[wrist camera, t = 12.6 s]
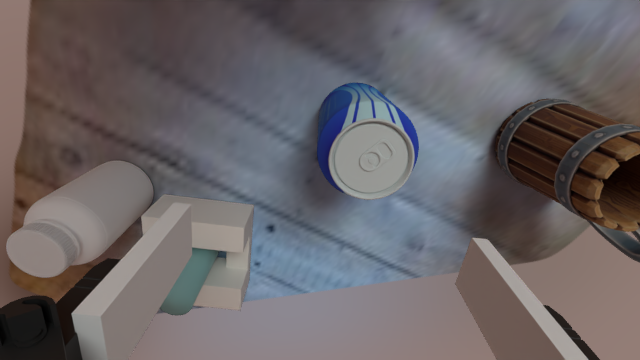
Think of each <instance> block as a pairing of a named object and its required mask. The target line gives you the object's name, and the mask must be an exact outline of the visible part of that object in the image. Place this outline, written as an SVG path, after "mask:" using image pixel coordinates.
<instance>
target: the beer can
mask: <svg viewBox="0 0 640 360" xmlns="http://www.w3.org/2000/svg"><path fill="white" fill-rule="evenodd" d="M418 150H419V143H418V137H417V133H416V130H415V128H414V126H413V124H412V122H411V121H410V119H409V118H408V117H407V116H406V115H405V114H404V113H403V112H402V111H401V110H400V109H399V108H398V107H396V106H395V105H394V104H393V103H392V102H391V101H389V100H388V99H387V98H386V97H385V96H384V95H383V94H381V93H380V92H379V91H378V90H377V89H375V88H374V87H372V86H370V85H367V84H363V83H349V84H345V85H342V86H340V87H338V88H336V89H335V90H333V91H332V92H331V93H330V94H329V95H328V96H327V97H326V99H325V100H324V102H323V104H322V106H321V108H320V112H319V122H318V142H317V157H318V162H319V166H320V168H321V171H322V173H323V175H324V176H325V178H326V179H327V180H328V182H329V183H330V184H331V185H332V186H334V187H335V188H336V189H338V190H339V191H341V192H343V193H345V194H347V195H350V196H353V197H356V198H359V199H366V200H373V199H379V198H383V197H386V196H388V195H390V194H392V193H394V192H395V191H397V190H398V189H399V188H400V187H402V186H403V184H404V183H405V182H406V181H407V179H408V178H409V176H410V174H411V172H412V170H413V168H414V166H415V164H416V161H417V157H418Z"/></svg>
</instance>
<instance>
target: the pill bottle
mask: <svg viewBox="0 0 640 360" xmlns="http://www.w3.org/2000/svg"><path fill="white" fill-rule="evenodd" d="M153 196H154V190H153V185H152V183H151V181H150V179H149V177H148V176H147V175H146V173H145V172H144V171H142V170H141V169H140V168H139V167H137V166H135V165H133V164H131V163H129V162H125V161H109V162H106V163H103V164H101V165H99V166H97V167H95V168H94V169H92V170H90V171H88V172H87V173H85V174H83V175H81V176H80V177H78V178H76V179H75V180H73V181H71V182H69V183H68V184H66V185H64V186H62V187H61V188H59V189H57V190H55V191H54V192H52V193H50V194H49V195H47V196H45V197H43V198H42V199H40V200H38V201H37V202H36V203H34V204H33V205H32V206H31V208H30V209H29V210H28V212H27V213H26V216H25V219H24V227H22V228H20V229H19V230H17V231H16V232H14V233H13V234H11V236H10V237H9V238H8V240H7V244H6V250H7V253H8V256H9V258H10V259H11V261H12V262H13V263H14V264H15V265H16V266H17V267H18V268H20V269H21V270H22V271H24V272H26V273H28V274H30V275H33V276H37V277H43V278H48V277H54V276H57V275H59V274H61V273H62V272H64V271H65V270H66V269H67V268H68V267H69V266H70V265H80V264H85V263H88V262H90V261H92V260H94V259H96V258H98V257H99V256H100V255H102V254H103V253H104V252H105V251H106V250H107V249H108V248H109V247H110V246H111V245H112V244H113V243H114V242H115V241H116V240H117V239H118V238H119V237H120V236H121V235H122V234H123V233H124V232H125V231H126V230H127V229H128V228H129V227H130V226H131V225H132V224H133V223H134V222H135V221H136V220H137V219H138V218H139V217H140V216H141V215H142V214H143V213H144V212H145V211H146V210H147V209H148V207H149V206H150V205H151V203H152V200H153Z"/></svg>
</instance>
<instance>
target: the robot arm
mask: <svg viewBox="0 0 640 360" xmlns="http://www.w3.org/2000/svg"><path fill="white" fill-rule="evenodd" d="M191 256H192V223H191V204H183V203H173V204H172V205H171V206H170V207H169V208H168V210H167V211H166V212H165V213H164V214H163V215H162V216H161V217H160V218H159V219H158V220H157V221H156V223H155V224H154V225H153V226H152V227H151V228H150V229H149V230H148V231H147V232H146V233H145V234H144V236H143V237H142V238H141V239H140V240H139V241H138V242H137V243H136V244H135V245H134V246H133V247H132V249H131V250H130V251H129V252H128V253H127V254H126V255H125V256H124V257H123V258H122V259H121V260H118V259H109V258H108V259H107V260H105V261H103V262H101V263H99V264H98V265H96V266H94V267H93V268H92V269H91V270H90V271H89V272H88V273H87V274H86V275H85V276H84V277H83V279H81V280H80V281H79V282H78V283H77V284H75V286H74V288H71V289H70V290H69V291H68V292H67V293H66V294H65V295H64V296H63V297H62V298H61V299H60V300H59V301H58V302H57V303H56V304H55V302H54V301H53V299H52V298H49V297H47V296H30V297H25V298H21V299H18V300H16V301H13V302H10V303H9V304H7V305H5V306H4V307H2V308H0V360H128V359H129V357H130V356H131V354H132V352H133V351H134V349H135V348H136V346H137V344H138V343H139V341H140V339H141V338H142V336H143V334H144V333H145V331H146V330H147V328H148V326H149V325H150V323H151V321H152V320H153V318H154V316H155V315H156V313H157V312H158V310H159V308H160V307H161V305H162V303H163V302H164V300H165V298H166V297H167V295H168V294H169V292H170V290H171V289H172V287H173V285H174V284H175V282H176V280H177V279H178V277H179V276H180V274H181V272H182V271H183V269H184V267H185V266H186V264H187V262H188V261H189V259H190V258H191ZM455 285H456V286H457V288H458V290H459V292H460V294H461V295H462V297H463V299H464V301H465V303H466V305H467V306H468V308H469V310H470V312H471V313H472V315H473V317H474V319H475V321H476V323H477V324H478V326H479V328H480V330H481V332H482V334H483V335H484V337H485V339H486V341H487V343H488V345H489V346H490V348H491V350H492V352H493V353H494V355H495V357H496V359H497V360H600V359H599V358H598V357H597V356H596V355H595V353H594V352H593V351H592V350H591V349H590V348H589V347H588V346H587V344H586V343H585V342H584V341H583V340H581V338H580V336H579V335H578V334H577V333H576V332H575V331H574V330H572V327H571V326H570V325H569V324H568V323H567V321H566V320H565V319H564V318H563V317H562V316H561V315H560V314H558V313H557V312H556V311H554V310H553V309H552V308H550V307H549V306H546V305H542V304H541V302H540V301H539V300H538V299H537V298H536V296H535V295H534V294H533V293H532V292H531V291H530V289H529V288H528V287H527V286H526V285H525V284H524V282H523V281H522V280H521V279H520V277H519V276H518V275H517V274H516V273H515V271H514V270H513V269H512V268H511V267H510V265H509V264H508V263H507V262H506V261H505V259H504V258H503V257H502V256H501V255H500V254H499V252H498V251H497V250H496V249H495V248H494V246H493V245H492V244H491V243H490V242H489V240H488V239H480V238H472V239H471V241H470V244H469V247H468V250H467V253H466V255H465V258H464V261H463V264H462V266H461V269H460V272H459V275H458V278H457V280H456V283H455Z"/></svg>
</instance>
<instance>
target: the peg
mask: <svg viewBox="0 0 640 360" xmlns="http://www.w3.org/2000/svg"><path fill="white" fill-rule="evenodd" d="M218 253H219V250H210V249H201V248H192V256H191V258H190V259H189V261H188V262H187V264H186V266H185V267H184V269H183V271H182V272H181V274H180V276H179V277H178V279H177V280H176V282H175V284H174V285H173V287H172V289H171V290H170V292H169V294H168V295H167V297H166V298H165V300H164V302H163V303H162V305H161V307H160V309H161V310H163V311H164V312H166V313H168V314H171V315H183V314H186V313H187V312H189V311H190V310H191V308H192V306H193V304H194V302H195V300H196V298H197V296H198V294H199V292H200V290H201V288H202V286H203V284H204V282H205V280H206V278H207V276H208V274H209V272H210V270H211V268H212V266H213V264H214V262H215V259H216V257H217V255H218Z"/></svg>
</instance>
